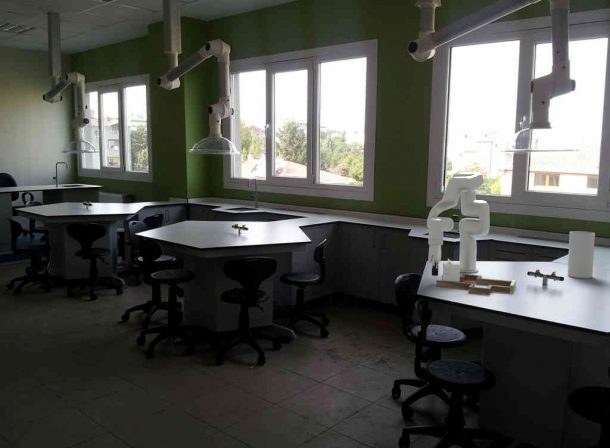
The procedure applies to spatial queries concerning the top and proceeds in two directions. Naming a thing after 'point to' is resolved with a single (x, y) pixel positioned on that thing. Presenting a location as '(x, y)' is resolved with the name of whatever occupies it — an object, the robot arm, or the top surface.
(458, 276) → the ink box
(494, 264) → the top surface
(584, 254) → the cylinder vase
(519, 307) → the top surface
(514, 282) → the trap lane
